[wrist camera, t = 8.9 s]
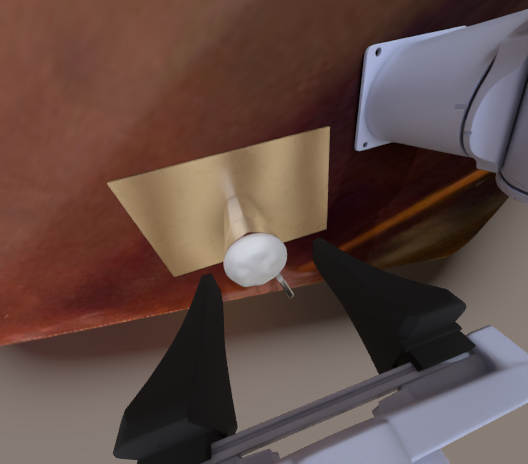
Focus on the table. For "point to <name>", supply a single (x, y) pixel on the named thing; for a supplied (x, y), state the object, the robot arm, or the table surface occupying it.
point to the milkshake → (251, 246)
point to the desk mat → (229, 197)
